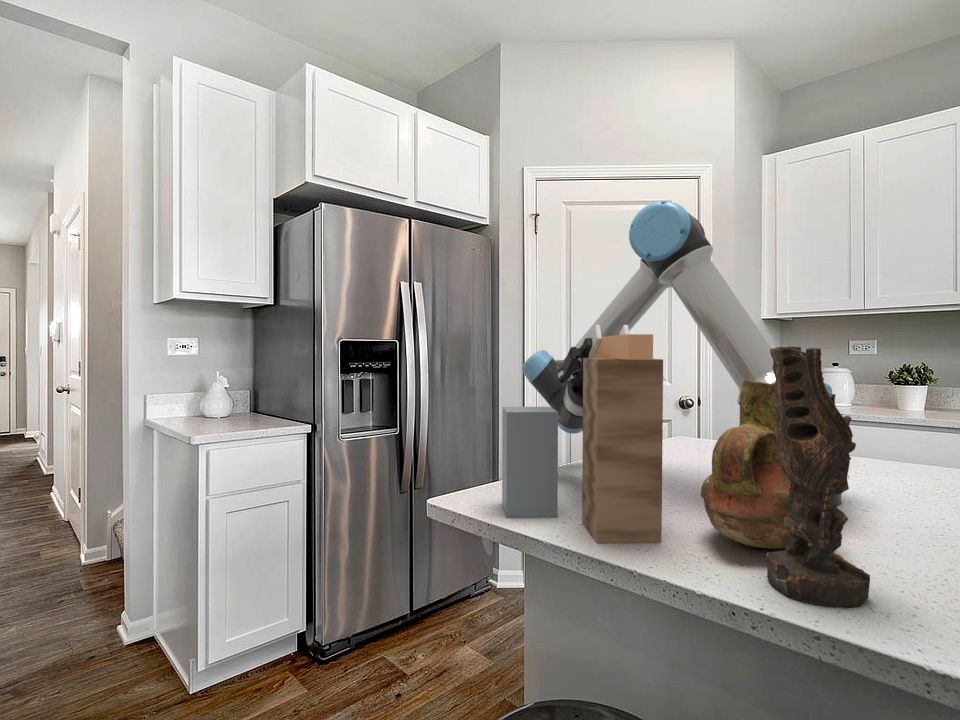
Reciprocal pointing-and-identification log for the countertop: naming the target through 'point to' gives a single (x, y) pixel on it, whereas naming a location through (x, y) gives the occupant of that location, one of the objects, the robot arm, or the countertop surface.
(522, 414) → the slate pedestal
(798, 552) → the statue
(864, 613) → the countertop surface
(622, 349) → the bar
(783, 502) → the ceramic vessel
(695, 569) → the countertop surface
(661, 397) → the walnut stand
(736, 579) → the countertop surface
